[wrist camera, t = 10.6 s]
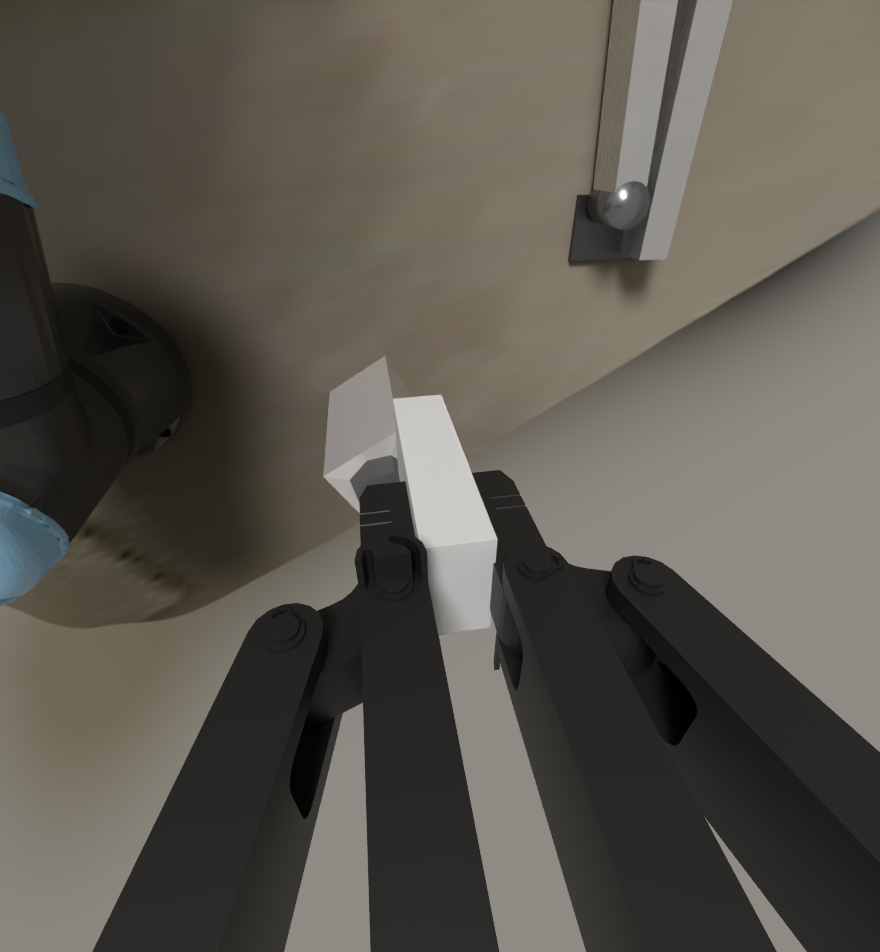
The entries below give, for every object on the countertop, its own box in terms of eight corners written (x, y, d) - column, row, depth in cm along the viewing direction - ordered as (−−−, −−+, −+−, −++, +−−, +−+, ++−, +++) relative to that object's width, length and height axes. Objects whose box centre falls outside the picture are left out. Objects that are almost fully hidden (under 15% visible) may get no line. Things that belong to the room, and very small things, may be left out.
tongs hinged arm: (584, 225, 39) (607, 231, 35) (636, -278, 25) (681, -346, 21) (620, 221, 39) (645, 227, 36) (691, -278, 25) (744, -344, 22)
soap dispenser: (440, 394, 46) (497, 542, 29) (368, 438, 48) (381, 605, 30) (405, 342, 43) (446, 475, 25) (329, 391, 44) (317, 550, 26)
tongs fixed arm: (568, 260, 41) (588, 269, 37) (642, -271, 25) (688, -338, 22) (645, 256, 42) (671, 265, 38) (763, -258, 26) (825, -319, 23)
